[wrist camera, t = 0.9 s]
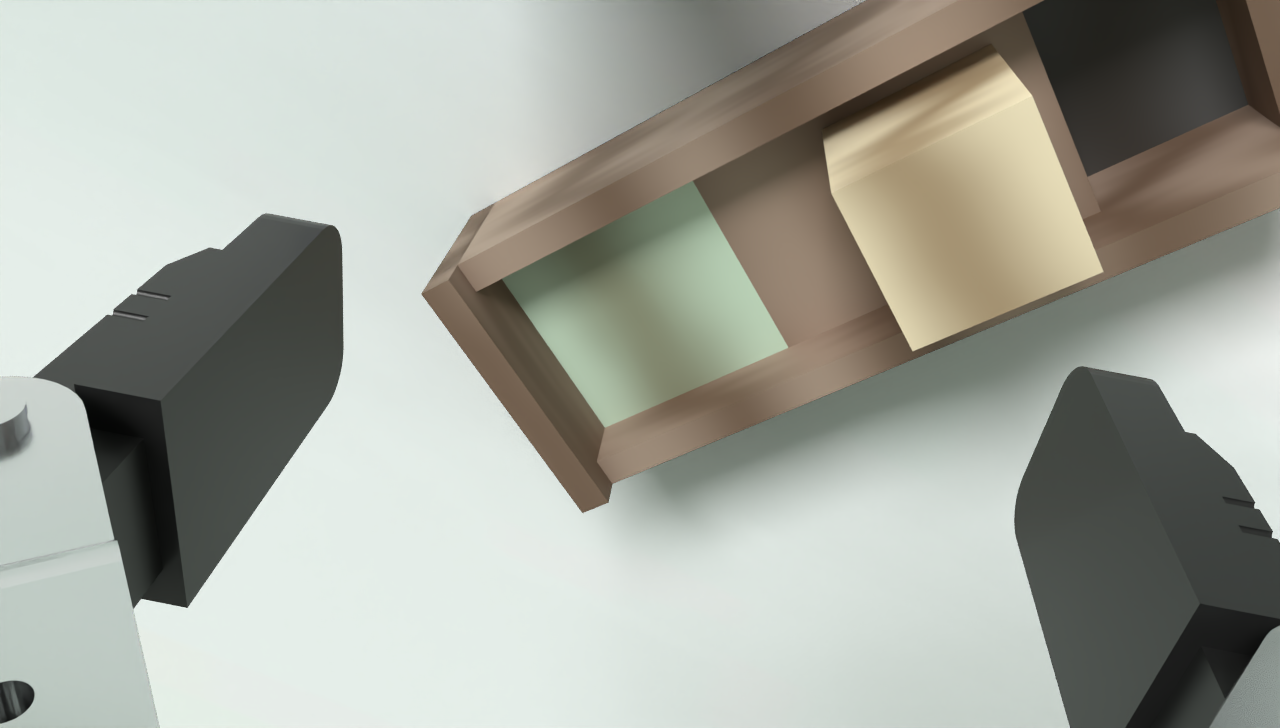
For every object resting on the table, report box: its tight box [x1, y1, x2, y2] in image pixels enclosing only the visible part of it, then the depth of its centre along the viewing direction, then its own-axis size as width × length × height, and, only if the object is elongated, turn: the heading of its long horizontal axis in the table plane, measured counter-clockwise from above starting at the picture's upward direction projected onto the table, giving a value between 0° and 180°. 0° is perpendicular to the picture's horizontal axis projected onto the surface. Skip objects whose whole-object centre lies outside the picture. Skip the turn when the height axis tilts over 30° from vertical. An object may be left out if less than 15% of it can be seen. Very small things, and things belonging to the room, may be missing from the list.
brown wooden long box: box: [422, 0, 1280, 513], centre depth 30 cm, size 24×9×6 cm, turn 120°
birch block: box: [822, 44, 1103, 351], centre depth 27 cm, size 5×5×5 cm
